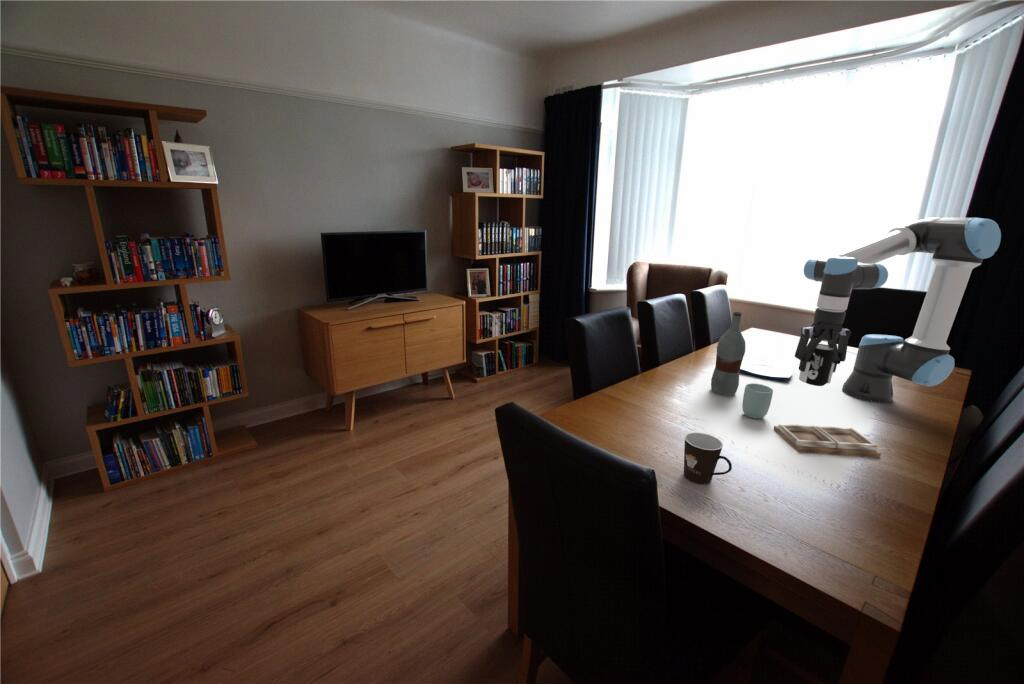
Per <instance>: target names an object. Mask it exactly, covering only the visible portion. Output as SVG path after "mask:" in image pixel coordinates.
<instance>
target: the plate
mask: <svg viewBox="0 0 1024 684" xmlns="http://www.w3.org/2000/svg"><path fill="white" fill-rule="evenodd" d="M739 372H742V373H745V374H748V375H749V376H750V375H751V376H754V377H758V378H763V379H769V380H788V379H790V378H791V377H792V376H793V369H792V365H790V364H781V363H774V362H767V361H763V360H757V359H754V358H750V357H745V356H744V357H743V360H742V364H741V367H740V371H739Z"/></svg>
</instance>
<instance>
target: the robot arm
mask: <svg viewBox="0 0 1024 684" xmlns="http://www.w3.org/2000/svg"><path fill="white" fill-rule="evenodd" d="M1001 239H1002V232H1001V228H1000V227H999V224H998V223H997V222H996V221H995V220H993V219H990V218H982V217H953V216H952V217H951V216H949V217H948V216H947V217H946V216H945V217H944V216H931V217H927V218H922V219H918V220H914V221H910V222H907V223H905V224H901V225H899V226H897V227H895V228H892V229H891V230H890V231H888V232H887V234H884V235H882V236H880V237H877V238H874V239H871V240H869V241H866V242H863V243H861V244H858V245H856V246H854V247H851V248H848V249H845V250H842V251H840V252H838V253H834V254H833V255H830V256H827V257H821V256H819V257H818V256H817V257H816V256H814V257H811V258H809V259H808V260H807V261H806V262H805V264H804V267H803V275H804V277H805V278H806V279H807V280H812V281H815V282H821V285H820V290H819V293H818V297H817V302H816V307H817V308H815V310H814V316H813V323H812V325H811V326H808V327H805V326H802V327H801V328H800V333H801V334H800V336H799V340H798V343H797V347H796V350H795V353H794V358H795V359H798V360H799V366H798V370H799V371H800V372H799V376H798V380H799V381H801V382H802V383H805V382H806V380H807V376H808V372H809V367H810V362H808V360H809V359H810V357H811V355H812V354H813V352H814V350H815V349H816V347H817V346H818V344H821V342H823V341H825V340H826V342H827V345H828V346H829V347H831V348H833V351H834V356H833V360H832V364H831V368H830V373H829V377H828V381H827V384H831V382H832V376H833V373H834V374H835V373H836V371H837V370H836V369H837V366H838V365H840V364H841V362H845V361H846V357H847V352H848V344H849V338H850V336H851V334H852V330H850V329H848V328H845V327H844V328H843V324H844V321H845V317H846V314H847V313H846V310H847V309H848V305H849V301H850V298H851V297H850V295H851V292H852V290H872V289H873V290H874V289H878V288H880V287H882V286H884V285H885V284H886V283H887V280H888V278H889V271H888V269H887V267H885V265H883V264H881V263H880V262H882V261H884V260H887V259H889V258H892V257H895V256H897V255H898V256H905V255H909V254H911V253H926V254H932V258H931V260H932V261H933V263H934V264H935V268H934V271H933V272H932V273H933V274H932V276H931V279H930V282H929V285H928V288H927V291H926V294H925V297H924V300H923V303H922V306H921V309H920V311H919V314H918V317H917V320H916V323H915V326H914V329H913V333H912V335H911V336H909V337H908V338H905V339H904V337H901V336H897V335H890V334H889V335H888V334H876V333H875V334H873V333H872V334H865V335H864V336H862V337H861V340H860V342H859V345H858V351H857V354H856V358H855V362H854V365H853V369H852V371H851V373H850V375H849V376H848V377H847V379H846V380H845V381H844V383H843V385H842V388H841V391H843V393H844V394H847V395H848V396H851V397H853V398H856V399H860V400H863V401H867V402H872V403H873V402H874V403H881V404H882V403H883V404H884V403H890V402H891V403H892V401H893V398H894V387H893V376H894V377H896V378H900V379H903V380H906V381H908V382H912V383H913V384H916V385H917V384H918V385H921V386H925V387H934V386H938V385H940V384H941V383H943V382H944V381H945V380H946V379H947V378H948V377H949V376H950V375H951V374H952V372H953V370H954V368H955V365H956V364H955V358H954V357H953V356H952V355H950V354H949V353H950V352H951V351H950V350H951V347H950V346H949V345H948V344H947V341H948V338H949V335H950V332H951V330H952V327H953V324H954V321H955V318H956V316H957V313H958V311H959V310H958V309H959V307H960V305H961V302H962V299H963V297H964V293H965V291H966V289H967V286H968V282H969V280H970V277H971V274H972V271H973V270H974V269H975V268H977V267H979V266H981V265H982V263H983V260H984V259H989V258H991V257H993V256H994V255H995V253H996V252H997V251H998V249H999V247H1000V244H1001ZM838 335H839V337H838ZM810 336H811V337H810Z"/></svg>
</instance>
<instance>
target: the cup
mask: <svg viewBox="0 0 1024 684" xmlns="http://www.w3.org/2000/svg"><path fill="white" fill-rule="evenodd" d="M773 393H774V390H773V388H772V387H769V386H767V385H764V384H761V383H756V382H755V383H754V382H753V383H747V384H746V385H745V387H744V391H743V396H742V404H741V405H742V407H741V408H742V413H743V414H744V415H745V416H746V417H749V418H751V419H755V420H758V419H759V420H760V419H763V418H765V417H766V416H767V415H768V412H769V410H770V407H771V403H772V399H773Z"/></svg>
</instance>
